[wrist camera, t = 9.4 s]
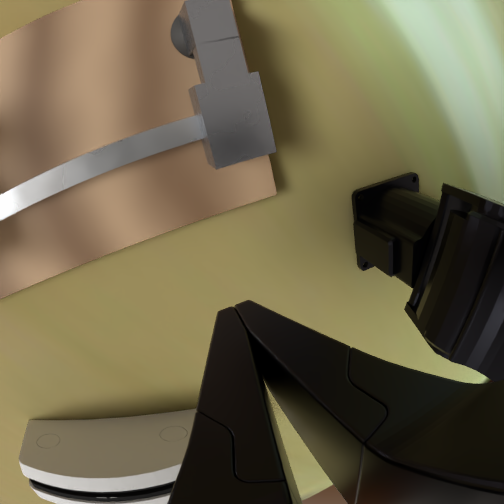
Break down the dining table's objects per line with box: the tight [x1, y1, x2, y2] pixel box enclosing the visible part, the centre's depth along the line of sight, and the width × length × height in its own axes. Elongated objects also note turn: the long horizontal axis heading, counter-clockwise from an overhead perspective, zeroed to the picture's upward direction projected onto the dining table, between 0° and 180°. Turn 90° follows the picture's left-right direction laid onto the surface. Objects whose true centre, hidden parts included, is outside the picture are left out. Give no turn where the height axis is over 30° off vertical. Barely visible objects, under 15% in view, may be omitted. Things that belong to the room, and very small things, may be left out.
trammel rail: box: [0, 0, 277, 221], centre depth 12 cm, size 20×8×3 cm, turn 103°
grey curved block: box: [19, 409, 197, 504], centre depth 20 cm, size 17×5×10 cm, turn 87°
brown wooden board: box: [0, 0, 277, 299], centre depth 14 cm, size 22×14×1 cm, turn 103°
